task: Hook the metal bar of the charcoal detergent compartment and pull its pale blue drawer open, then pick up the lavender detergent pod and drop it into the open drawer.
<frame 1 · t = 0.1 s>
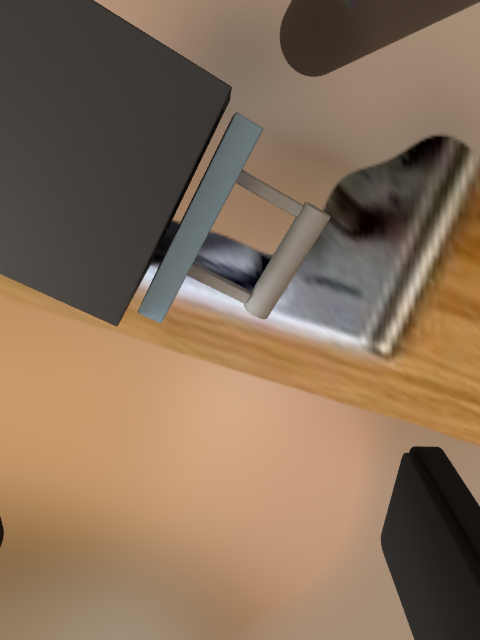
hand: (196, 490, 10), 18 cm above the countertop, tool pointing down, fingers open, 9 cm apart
drawer: (158, 190, 21), point 4 cm above the countertop, slide at 0.5 cm
compartment: (90, 136, 23), on the countertop
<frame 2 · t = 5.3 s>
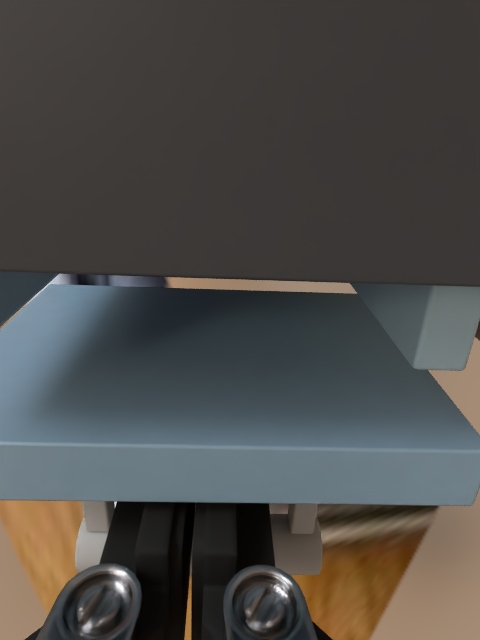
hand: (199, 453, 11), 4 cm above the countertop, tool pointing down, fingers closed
drawer: (205, 274, 9), point 4 cm above the countertop, slide at 3.0 cm, touching gripper
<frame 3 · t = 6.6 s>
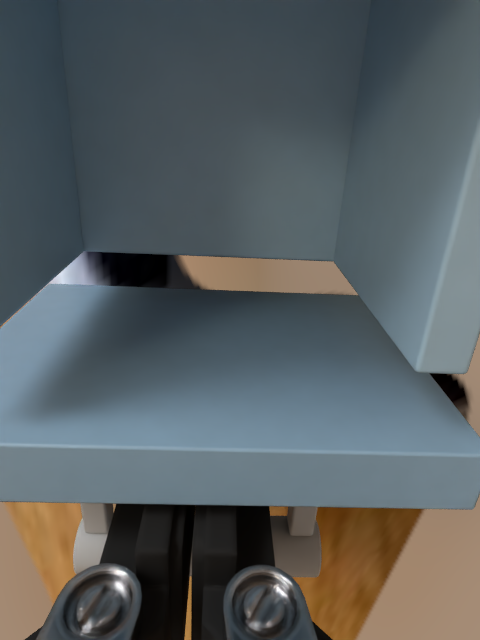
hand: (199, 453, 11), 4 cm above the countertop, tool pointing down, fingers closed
drawer: (206, 275, 9), point 4 cm above the countertop, slide at 7.1 cm, touching gripper
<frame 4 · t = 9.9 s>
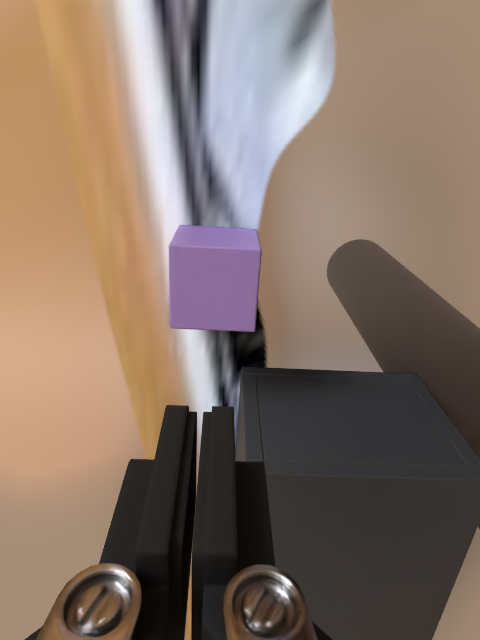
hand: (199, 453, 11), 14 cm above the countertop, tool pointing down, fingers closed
detergent pod: (216, 264, 23), on the countertop
compartment: (317, 446, 28), on the countertop
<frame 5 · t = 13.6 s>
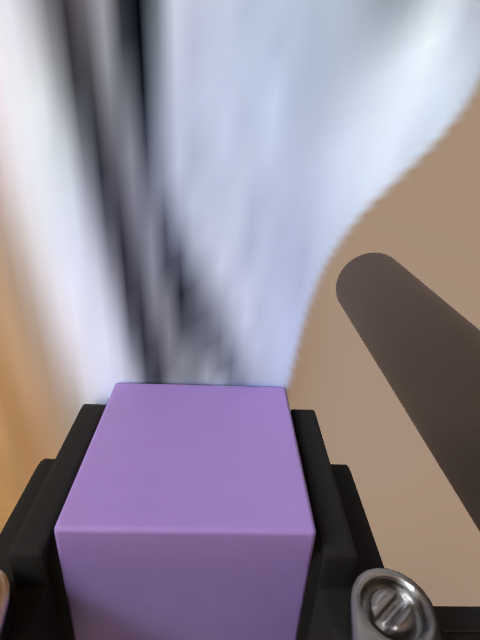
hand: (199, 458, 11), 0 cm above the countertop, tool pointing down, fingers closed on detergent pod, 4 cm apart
detergent pod: (200, 450, 11), on the countertop, touching gripper
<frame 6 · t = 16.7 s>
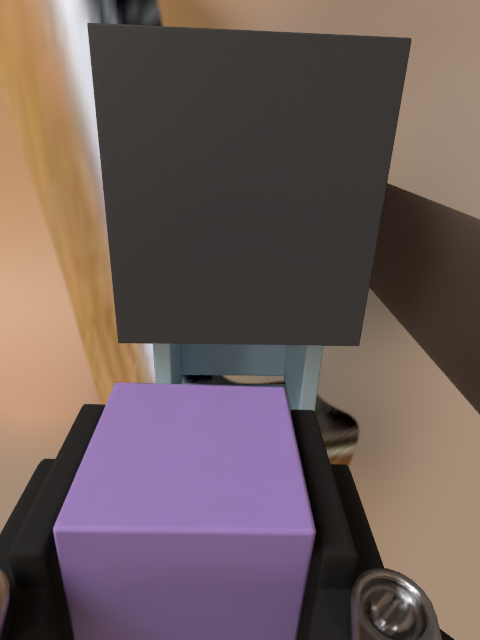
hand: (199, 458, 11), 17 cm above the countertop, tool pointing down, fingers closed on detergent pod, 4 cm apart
detergent pod: (199, 449, 11), point 17 cm above the countertop, touching gripper
drawer: (234, 392, 25), point 4 cm above the countertop, slide at 7.1 cm
compartment: (238, 181, 24), on the countertop
when the fingers open (8 cm above the countertop, at t = 19.9 s): detergent pod drops 6 cm, resting on drawer.
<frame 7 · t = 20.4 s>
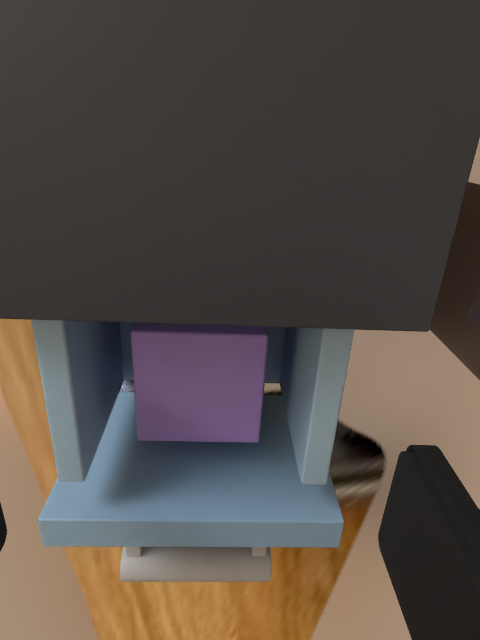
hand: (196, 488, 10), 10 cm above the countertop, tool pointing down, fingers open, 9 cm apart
detergent pod: (204, 333, 17), point 2 cm above the countertop, touching drawer
drawer: (199, 410, 16), point 4 cm above the countertop, slide at 7.1 cm, touching detergent pod
compartment: (209, 64, 15), on the countertop
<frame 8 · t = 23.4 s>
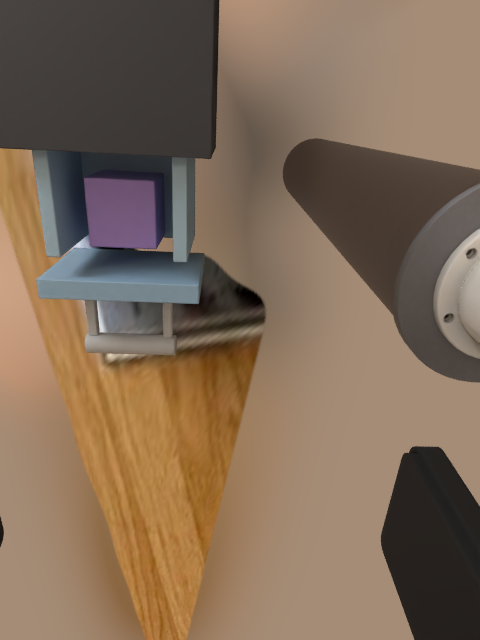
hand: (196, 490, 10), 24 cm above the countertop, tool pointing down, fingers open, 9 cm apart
detergent pod: (134, 202, 29), point 2 cm above the countertop, touching drawer
drawer: (128, 240, 27), point 4 cm above the countertop, slide at 7.1 cm, touching detergent pod
compartment: (132, 43, 27), on the countertop
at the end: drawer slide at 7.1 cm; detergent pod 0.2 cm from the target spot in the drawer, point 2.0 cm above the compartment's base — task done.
